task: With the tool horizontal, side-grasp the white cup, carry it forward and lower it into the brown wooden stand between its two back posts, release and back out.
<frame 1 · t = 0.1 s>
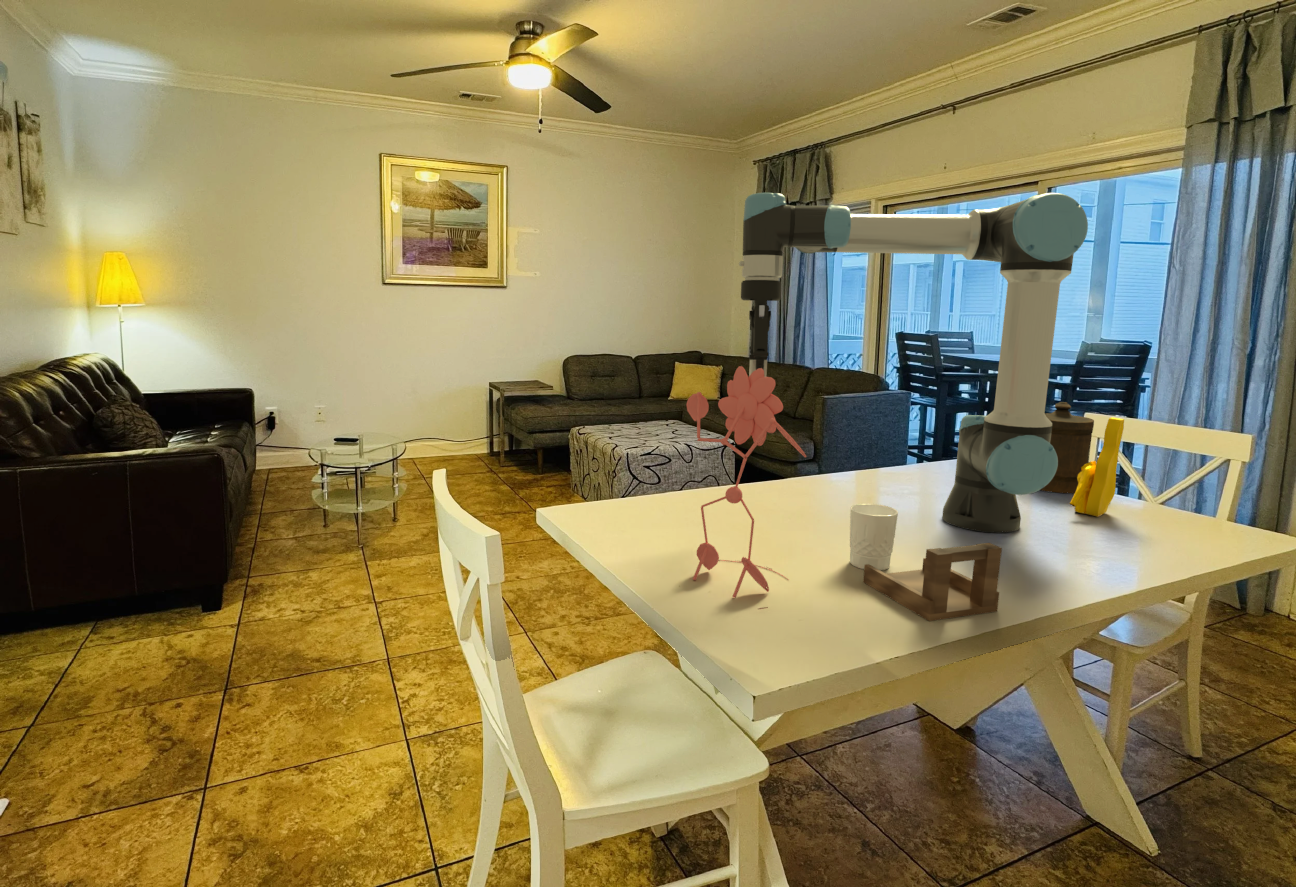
hand: (756, 391, 146), 28 cm above the table, tool pointing down, fingers open, 13 cm apart
figurine: (742, 581, 123), on the table
wooden container: (1051, 487, 194), on the table
figure statuette: (1091, 514, 168), on the table
white cup: (869, 565, 132), on the table
brown wooden stand: (927, 595, 118), on the table
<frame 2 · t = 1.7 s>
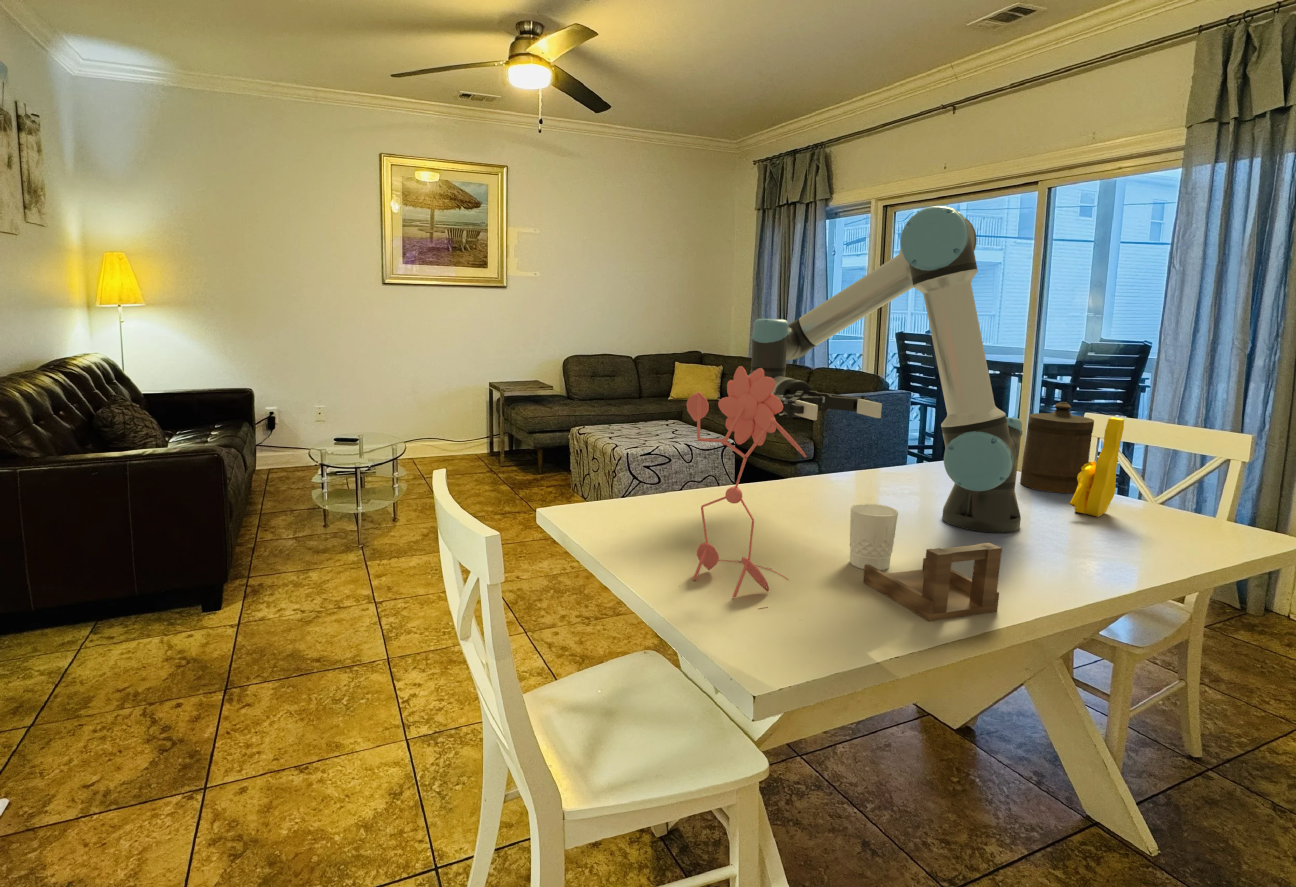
hand: (848, 411, 136), 26 cm above the table, tool horizontal, fingers open, 13 cm apart
nothing on the table moved.
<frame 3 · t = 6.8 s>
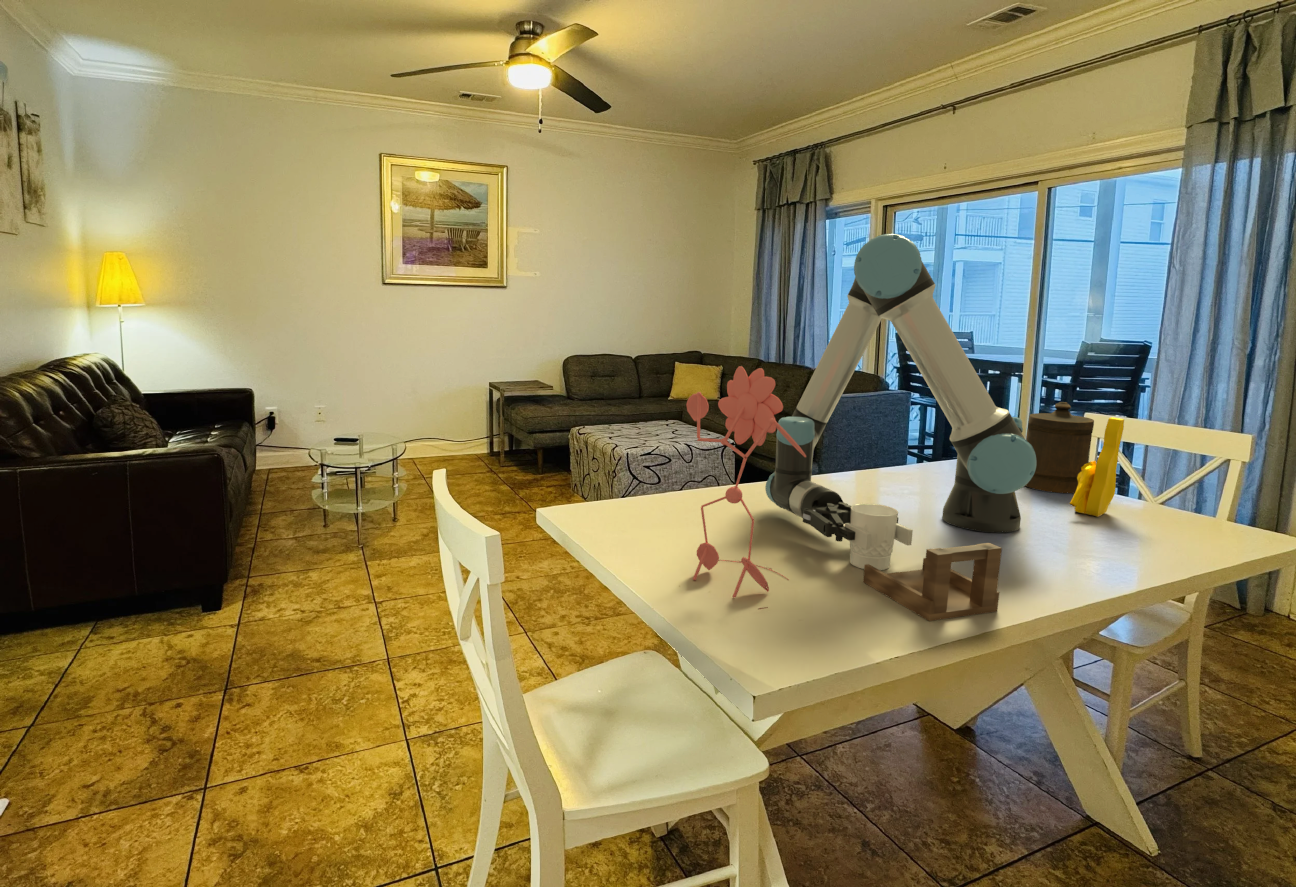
hand: (889, 539, 126), 6 cm above the table, tool horizontal, fingers closed on white cup, 8 cm apart
white cup: (869, 565, 132), on the table, touching gripper
everything else where it was.
when the fingers open (8 cm above the table, at t = 12.4 s): white cup drops 1 cm, resting on brown wooden stand.
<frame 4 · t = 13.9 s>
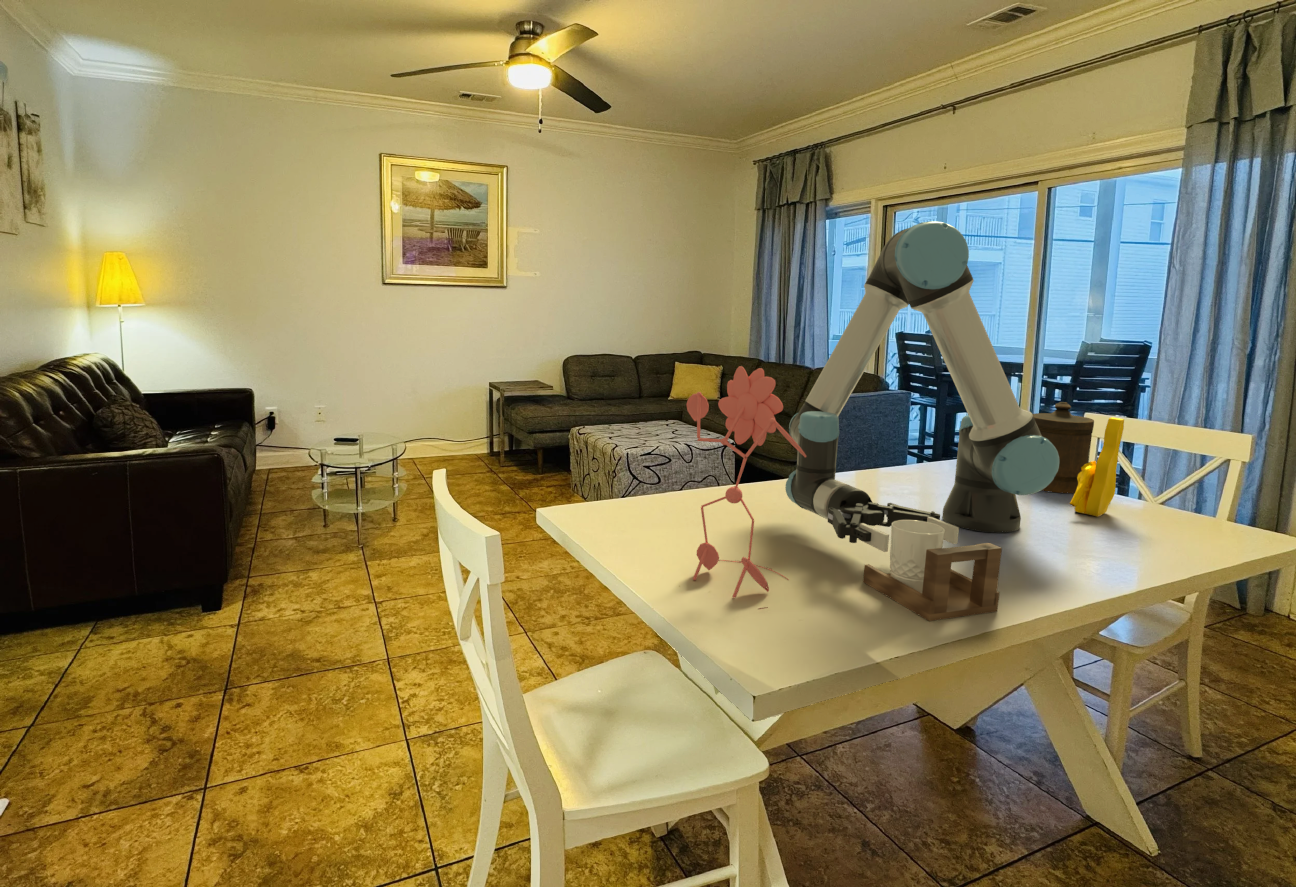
hand: (922, 539, 119), 9 cm above the table, tool horizontal, fingers open, 13 cm apart
white cup: (911, 588, 119), point 1 cm above the table, touching brown wooden stand
everything else where it was.
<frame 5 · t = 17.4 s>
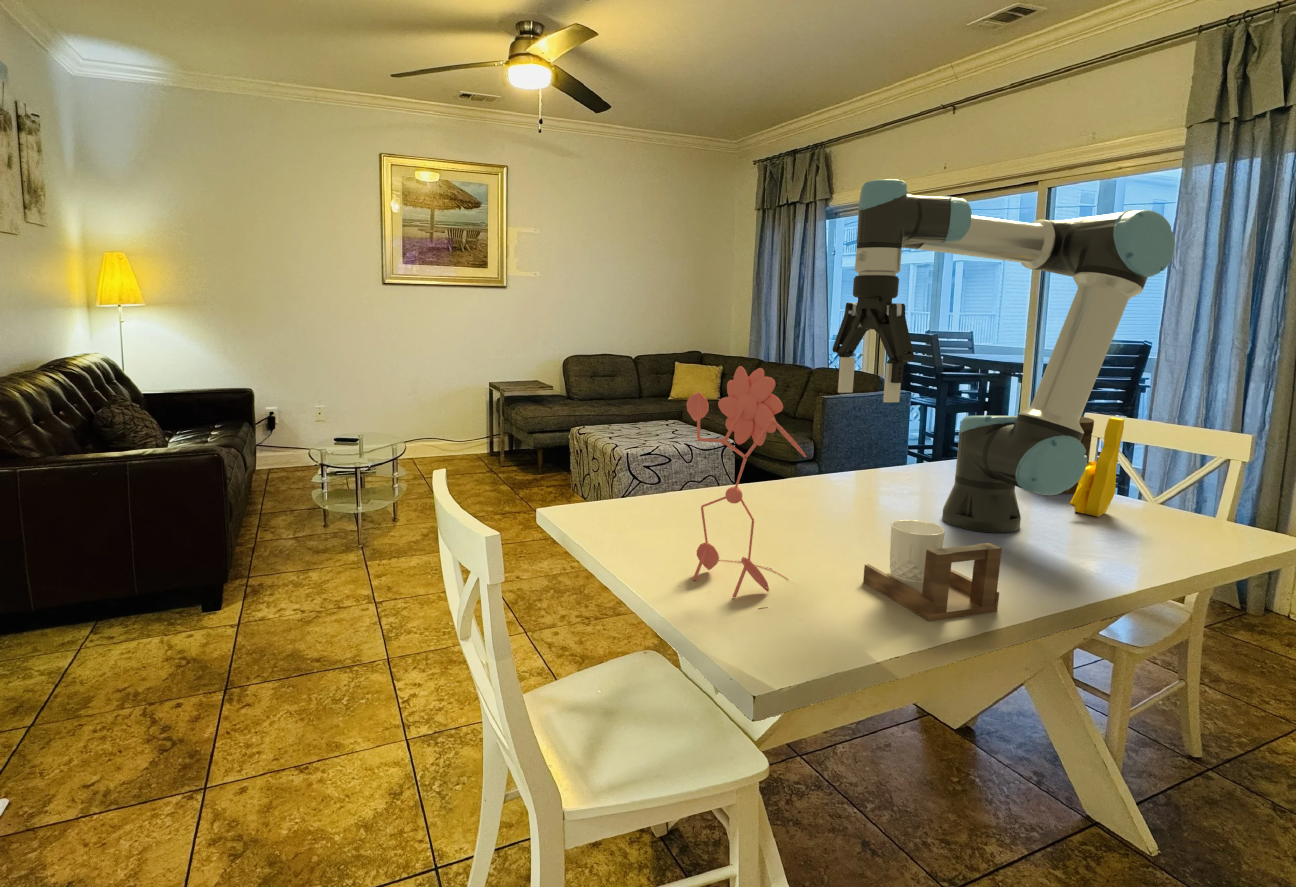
hand: (867, 397, 133), 29 cm above the table, tool pointing down, fingers open, 13 cm apart
nothing on the table moved.
at the end: white cup 2.3 cm from the brown wooden stand (horizontally); white cup tilted 0°; white cup point 0.8 cm above the table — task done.
